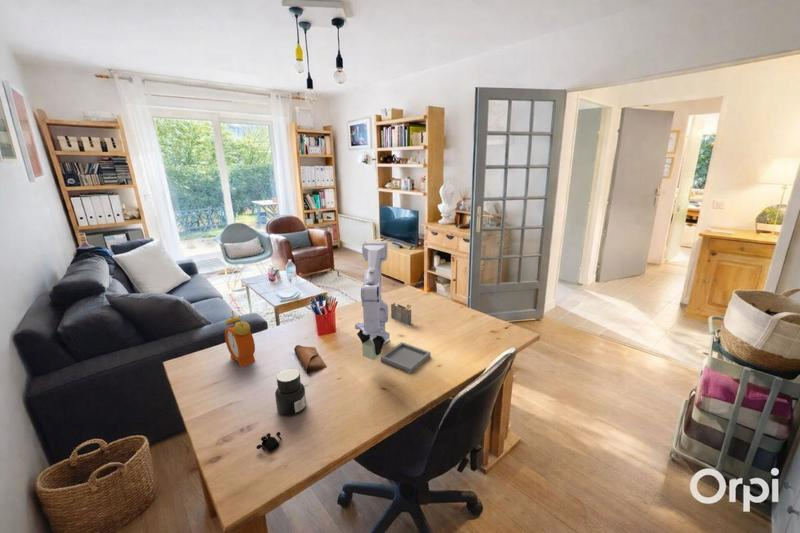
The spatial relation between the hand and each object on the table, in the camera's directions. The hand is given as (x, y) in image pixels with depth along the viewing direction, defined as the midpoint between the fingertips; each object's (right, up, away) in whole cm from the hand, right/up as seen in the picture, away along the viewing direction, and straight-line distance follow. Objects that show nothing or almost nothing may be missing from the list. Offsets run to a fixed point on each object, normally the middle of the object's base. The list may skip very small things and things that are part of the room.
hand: (372, 351), depth 125 cm
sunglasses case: (-25, -6, +10) cm, 28 cm away
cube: (0, -1, 0) cm, 1 cm away
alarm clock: (-52, -6, +11) cm, 53 cm away
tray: (+12, -6, +10) cm, 17 cm away
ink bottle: (-24, -14, -16) cm, 32 cm away
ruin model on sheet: (+11, +4, +44) cm, 45 cm away
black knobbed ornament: (-26, -18, -31) cm, 44 cm away
